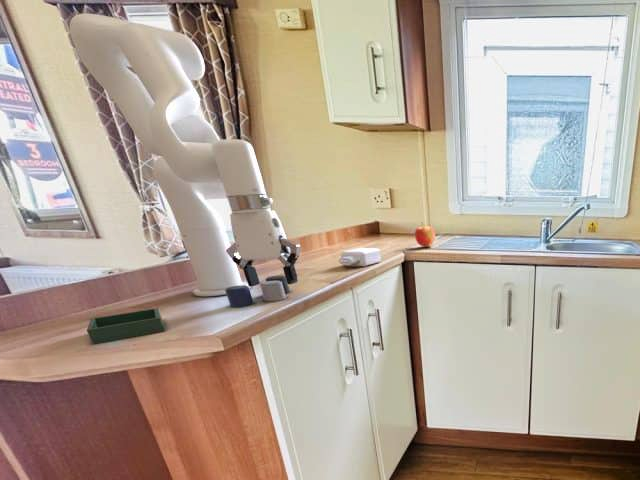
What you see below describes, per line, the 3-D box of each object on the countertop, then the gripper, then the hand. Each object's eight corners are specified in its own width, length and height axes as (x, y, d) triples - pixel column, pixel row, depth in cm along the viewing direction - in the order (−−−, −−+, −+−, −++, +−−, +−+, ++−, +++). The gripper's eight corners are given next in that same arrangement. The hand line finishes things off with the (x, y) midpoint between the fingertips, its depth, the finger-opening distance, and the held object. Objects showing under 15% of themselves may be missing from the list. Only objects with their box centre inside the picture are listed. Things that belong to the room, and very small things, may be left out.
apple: (439, 246, 179) (437, 221, 174) (424, 248, 173) (421, 222, 169) (428, 245, 184) (425, 220, 180) (413, 247, 179) (409, 222, 174)
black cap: (267, 293, 107) (263, 277, 105) (287, 290, 109) (283, 274, 108) (272, 296, 104) (267, 279, 102) (292, 292, 106) (287, 276, 104)
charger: (330, 269, 135) (359, 261, 148) (354, 270, 133) (381, 262, 145) (327, 254, 133) (356, 247, 146) (351, 254, 131) (379, 247, 143)
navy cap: (229, 304, 97) (223, 287, 95) (251, 301, 99) (246, 284, 98) (232, 308, 94) (226, 290, 92) (255, 304, 96) (250, 287, 95)
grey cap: (262, 299, 101) (257, 282, 99) (283, 295, 103) (278, 279, 102) (267, 302, 98) (261, 285, 96) (288, 298, 100) (283, 282, 98)
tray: (97, 331, 81) (90, 318, 80) (162, 320, 87) (157, 307, 86) (93, 344, 74) (86, 330, 73) (165, 331, 80) (159, 317, 79)
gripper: (296, 201, 94) (316, 279, 101) (225, 207, 96) (250, 283, 103) (276, 202, 87) (299, 285, 94) (200, 208, 89) (228, 289, 96)
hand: (273, 284), depth 99 cm, fingers open, 9 cm apart
